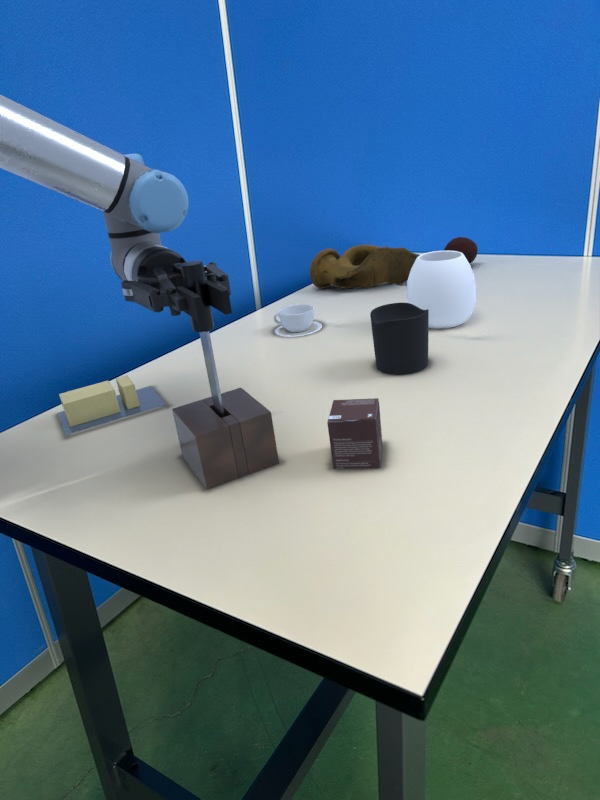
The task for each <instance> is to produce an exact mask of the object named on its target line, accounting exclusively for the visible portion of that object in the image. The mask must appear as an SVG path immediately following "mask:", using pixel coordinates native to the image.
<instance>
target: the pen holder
mask: <svg viewBox="0 0 600 800" xmlns="http://www.w3.org/2000/svg"><path fill="white" fill-rule="evenodd" d="M369 316H370V323H371V324H370V325H371V334H372V341H373V352H374V358H375V367H376V369H377V370H378V371H379V372H381V373H383V374H387V375H391V376H405V375H412V374H416V373H419V372H422V371H423V370H425V369H426V368H427V367H428V366H429V365H428V364H429V329H430V328H429V310H428V309H427V310H422V309H420V308H419V307H417V306H415V305H413V304H410V303H407V302H393V303H387V304H382V305H379V306H377V307H375V308H373V309H372V310H370V313H369Z"/></svg>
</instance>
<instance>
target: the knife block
mask: <svg viewBox="0 0 600 800" xmlns="http://www.w3.org/2000/svg"><path fill="white" fill-rule="evenodd" d="M221 398H222V403H223V408H224V414H225V417H223V418H220V417H219V416H218V415H217V414H216V413H215V411H214V406H213V401H212V396H208V397H205V398H202V399H199V400H196V401H192V402H190V403H189V402H188V403H186V404H183V405H180V406H176V407H172V408H171V411H172V416H173V420H174V425H175V429H176V434H177V437H178V442H179V446H180V451H181V455H182V458H183V460H184V461H185V463H186V464H187V465H188V466H189V468H190V469H191V471H192V472H193V473H194V475H195V476H196V477H197V478H198V480H199V481H200V483H201V484H202V485H203V487H204V488H205V489H206V490H211V489H213V488H216V487H219V486H222V485H224V484H227V483H229V482H232V481H236V480H238V479H241V478H244V477H247V476H248V475H252V474H254V473H258V472H260V471H263V470H265V469H268V468H271V467H274V466H277V465H279V464H280V460H279V453H278V447H277V441H276V435H275V428H274V422H273V416H272V412H271V410H270V409H268V408H267V407H266V406H265V405H263V404H262V403H261V402H259V401H258V400H257V399H256V398H254V397H253V396H252V395H251V394H250V393H249V392H247V391H246V390H245V389H244V388H243V387H238V388H235V389H230V390H228V391H224V392H221Z"/></svg>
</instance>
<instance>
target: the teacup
mask: <svg viewBox="0 0 600 800" xmlns="http://www.w3.org/2000/svg"><path fill="white" fill-rule="evenodd" d="M277 317H278V318H279V320H278V319H277ZM314 319H315V306H314V305H312V304H309V303H295V304H289V305H287V306H284V307H281V308H280V309H279V310H278V311H277V313H275V314H274V315H273V321H274V323H275V324H277V325H278V327H276V328H275V329H274V334H275V335H277V336H280V337H285V338H296V337H304V336H308V335H312V334H315V333H317V332H318V331H320V330H321V329H322V328H323V325H322V323H321V322H319V321H314ZM313 324H314V325H316V328H315V329H314V330H312V331H310V332H306V331H308V330H309V329H310V328H311V327H312V325H313ZM279 325H280V326H279ZM282 328H284V329H285V330H286V331H287V332H289V333H302V332H306V333H302V334H296V335H295V334H294V335H293V334H292V335H291V334H290V335H289V334H284V333H281V332H280V330H281V329H282Z"/></svg>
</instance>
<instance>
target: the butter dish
mask: <svg viewBox="0 0 600 800" xmlns="http://www.w3.org/2000/svg"><path fill="white" fill-rule="evenodd" d="M136 393H137V397H138V401H139V404H140V406H138V407H135V408H131V409H127V407H126V406H125V404H124V403H123V401H122V400H121V397H120V394H116V397H117V400H118V404H119V408H120V411H121V412H118V413H115V414H112V415H108V416H105V417H102V418H98V419H95V420H92V421H89V422H85V423H82V424H79V425H75V426H72V427H70V425H69V423H68V420H67V418H66V415H65V412H64V410H62V411H58V412H57V415H58V417H59V420H60V423H61V425H62V428H63V430H64V433H65V435H66V436H68V435H72V434H75V433H78V432H82V431H85V430H88V429H91V428H94V427H98V426H101V425H105V424H107V423H111V422H114V421H118V420H121V419H125V418H128V417H131V416H134V415H137V414H140V413H144V412H147V411H150V410H154V409H157V408H160V407H163V406H166V405H167V403H166V402H165V401H164V400H163V398H162V397H161V396H160V395H159V394H158V392H156V390H155V389H154V388H153V387H152V386H151V385H149V386H145V387H142V388H138V389H136Z"/></svg>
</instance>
